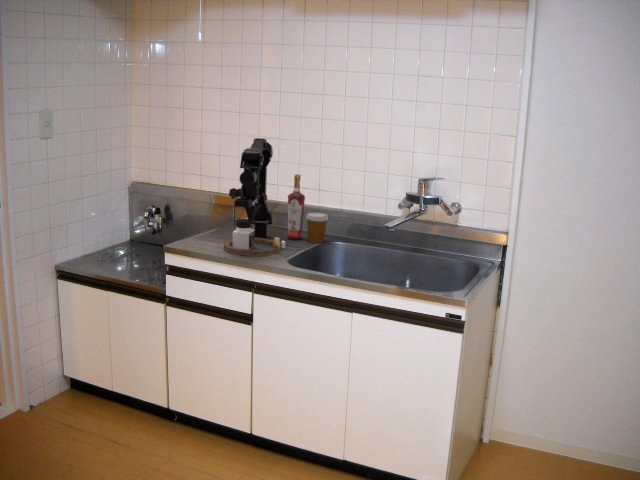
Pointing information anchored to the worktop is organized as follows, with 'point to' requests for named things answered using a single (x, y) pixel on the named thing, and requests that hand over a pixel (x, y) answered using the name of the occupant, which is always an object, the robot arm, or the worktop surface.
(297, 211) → the liquor
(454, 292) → the worktop surface
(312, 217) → the disposable coffee cup
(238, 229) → the medicine bottle
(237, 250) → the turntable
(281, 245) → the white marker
